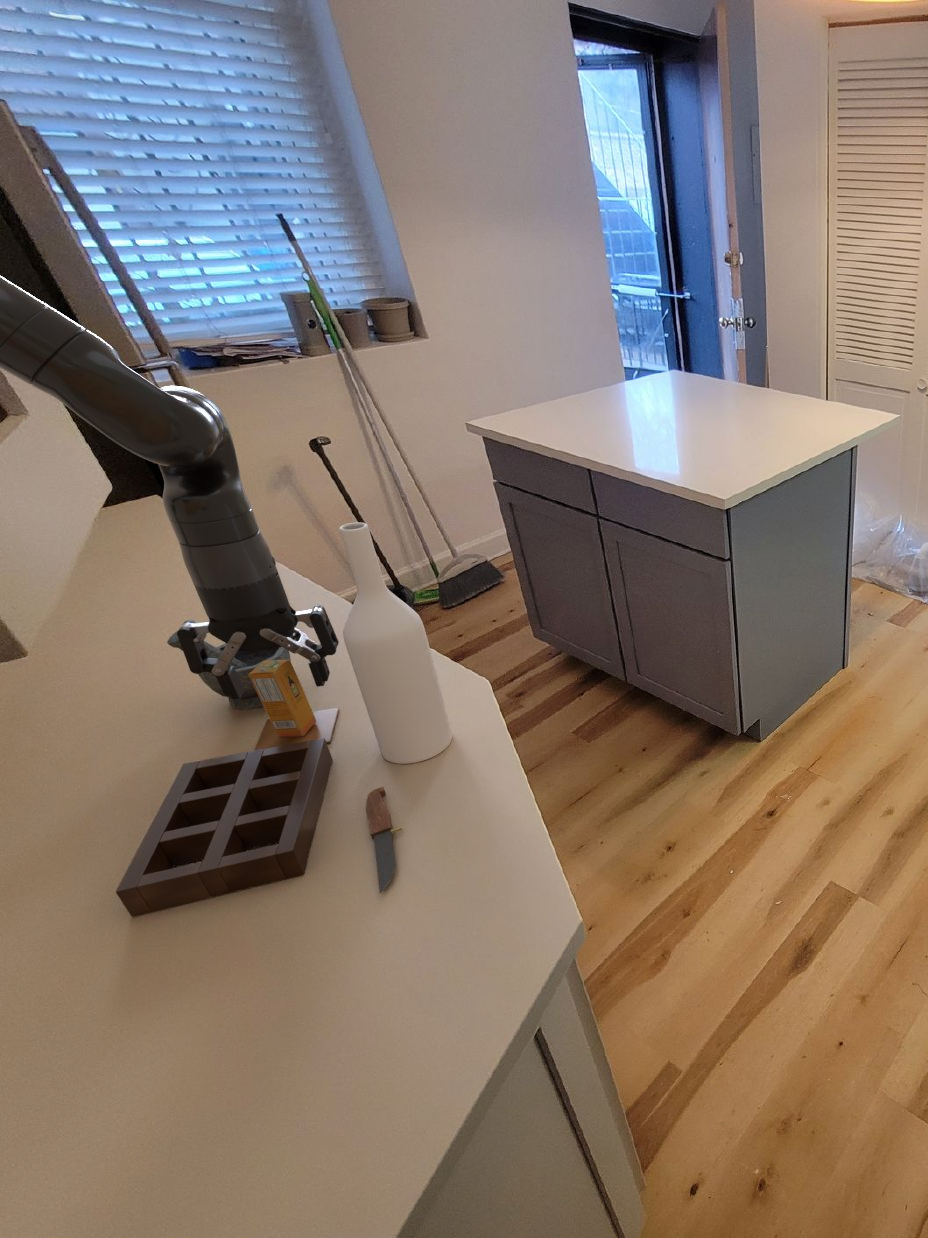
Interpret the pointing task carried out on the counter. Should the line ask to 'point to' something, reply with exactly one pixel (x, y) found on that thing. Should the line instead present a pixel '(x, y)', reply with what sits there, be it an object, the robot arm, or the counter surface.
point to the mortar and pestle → (237, 670)
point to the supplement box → (283, 698)
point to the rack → (230, 826)
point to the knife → (381, 835)
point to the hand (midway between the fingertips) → (281, 689)
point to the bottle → (392, 661)
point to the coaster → (317, 731)
